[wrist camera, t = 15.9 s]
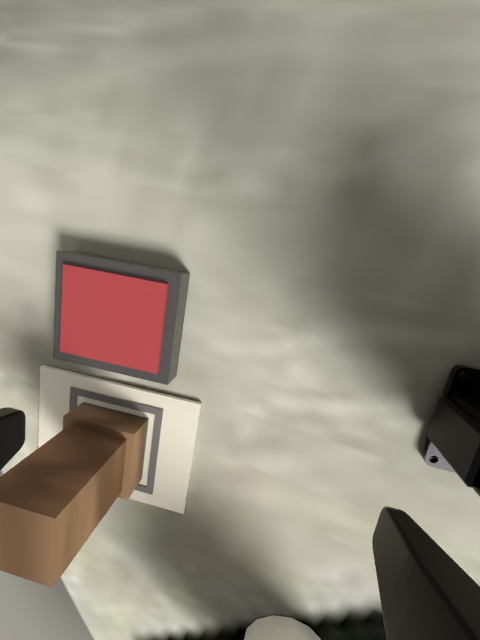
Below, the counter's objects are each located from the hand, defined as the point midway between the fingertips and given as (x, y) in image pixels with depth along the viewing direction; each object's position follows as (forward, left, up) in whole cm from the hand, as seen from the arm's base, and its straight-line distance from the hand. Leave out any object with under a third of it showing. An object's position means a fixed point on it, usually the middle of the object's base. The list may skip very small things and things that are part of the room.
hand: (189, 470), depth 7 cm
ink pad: (+8, 0, -12) cm, 15 cm away
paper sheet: (+8, +10, -12) cm, 18 cm away
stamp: (+8, +10, -12) cm, 17 cm away
